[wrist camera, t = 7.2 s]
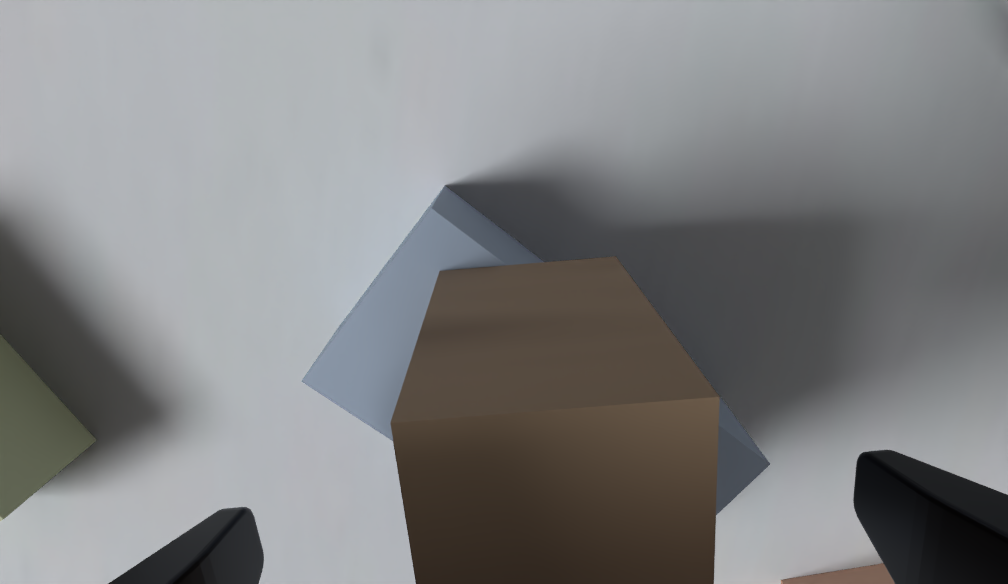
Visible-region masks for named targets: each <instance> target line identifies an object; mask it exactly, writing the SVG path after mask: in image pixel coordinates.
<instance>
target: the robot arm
mask: <svg viewBox="0 0 1008 584" xmlns="http://www.w3.org/2000/svg"><path fill="white" fill-rule="evenodd" d="M854 508H855V512H856V514H857V517H858V519H859V521H860V522H861V524H862V526H863V528H864V530H865V531H866V533H867V535H868V537H869V538H870V540H871V542H872V544H873V546H874V547H875V549H876V551H877V553H878V554H879V556H880V558H881V560H882V562H883V563H884V565H885V567H886V569H887V570H888V572H889V574H890V576H891V578H892V579H893V581H894V583H895V584H1008V495H1007V494H1004V493H1001V492H999V491H996V490H994V489H991V488H988V487H986V486H983V485H981V484H978V483H976V482H973V481H970V480H968V479H965V478H963V477H960V476H957V475H955V474H952V473H950V472H947V471H944V470H942V469H939V468H937V467H934V466H931V465H929V464H926V463H924V462H921V461H918V460H916V459H913V458H911V457H908V456H906V455H903V454H900V453H898V452H895V451H892V450H880V451H869V452H863V453H862V454H860V455H859V457H858V460H857V466H856V477H855V487H854ZM263 563H264V555H263V549H262V545H261V541H260V537H259V534H258V530H257V526H256V522H255V518H254V515H253V513H252V511H251V510H250V509H249V508H247V507H239V508H227V509H221V510H219V511H217V512H216V513H214V514H213V515H211V516H210V517H208V518H207V519H205V520H204V521H202V522H201V523H199V524H198V525H196V526H195V527H193V528H192V529H190V530H189V531H187V532H186V533H184V534H183V535H181V536H179V537H178V538H176V539H175V540H173V541H172V542H170V543H169V544H167V545H166V546H164V547H163V548H161V549H160V550H158V551H157V552H155V553H154V554H152V555H151V556H149V557H148V558H146V559H145V560H143V561H142V562H140V563H139V564H137V565H136V566H134V567H133V568H131V569H130V570H128V571H127V572H125V573H124V574H122V575H121V576H119V577H118V578H116V579H115V580H113V581H112V582H110V583H109V584H259V580H260V577H261V573H262V569H263Z"/></svg>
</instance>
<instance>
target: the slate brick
mask: <svg viewBox="0 0 1008 584" xmlns="http://www.w3.org/2000/svg"><path fill="white" fill-rule="evenodd" d="M541 262H544V261H542V260H541V259H540V258H538V257H537V256H536V255H535V254H533V253H532V252H531V251H529V250H528V249H527V248H525V247H524V246H523V245H522V244H520V243H519V242H518V241H516V240H515V239H514V238H512V237H511V236H510V235H509V234H507V233H506V232H505V231H503V230H502V229H501V228H499V227H498V226H497V225H496V224H494V223H493V222H492V221H490V220H489V219H488V218H487V217H485V216H484V215H483V214H481V213H480V212H479V211H477V210H476V209H475V208H474V207H472V206H471V205H470V204H468V203H467V202H466V201H464V200H463V199H462V198H461V197H459V196H458V195H457V194H455V193H454V192H453V191H451V190H450V189H449V188H448V187H446V186H444V187H443V189H442V190H441V191H440V193H439V194H438V195H437V197H436V198H435V199H434V201H433V202H432V203H431V205H430V206H429V207H428V209H427V210H426V211H425V213H424V214H423V215H422V217H421V218H420V219H419V221H418V222H417V223H416V225H415V226H414V227H413V229H412V230H411V231H410V233H409V234H408V235H407V237H406V238H405V239H404V241H403V242H402V243H401V245H400V246H399V247H398V249H397V250H396V251H395V253H394V254H393V255H392V257H391V258H390V259H389V261H388V262H387V263H386V265H385V266H384V267H383V269H382V270H381V271H380V273H379V274H378V275H377V277H376V278H375V279H374V281H373V282H372V283H371V285H370V286H369V287H368V289H367V290H366V291H365V293H364V294H363V295H362V297H361V298H360V299H359V301H358V302H357V303H356V305H355V306H354V307H353V309H352V310H351V311H350V313H349V314H348V315H347V317H346V318H345V319H344V321H343V322H342V323H341V325H340V326H339V327H338V329H337V330H336V332H335V333H334V335H333V336H332V338H331V339H330V340H329V342H328V343H327V345H326V346H325V348H324V349H323V351H322V352H321V353H320V355H319V356H318V358H317V359H316V361H315V362H314V364H313V365H312V367H311V368H310V369H309V371H308V372H307V374H306V375H305V377H304V378H303V380H302V382H303V383H305V384H306V385H308V386H309V387H311V388H312V389H314V390H315V391H317V392H318V393H320V394H321V395H323V396H325V397H326V398H328V399H329V400H331V401H332V402H334V403H335V404H337V405H338V406H340V407H341V408H343V409H345V410H346V411H348V412H349V413H351V414H352V415H354V416H355V417H357V418H358V419H360V420H361V421H363V422H364V423H366V424H368V425H369V426H371V427H372V428H374V429H375V430H377V431H378V432H380V433H381V434H383V435H384V436H386V437H388V438H389V439H391V440H392V441H393V436H392V430H391V424H390V422H391V419H392V416H393V413H394V410H395V407H396V404H397V401H398V398H399V395H400V391H401V388H402V385H403V382H404V379H405V376H406V373H407V370H408V367H409V364H410V361H411V358H412V354H413V351H414V348H415V345H416V342H417V339H418V336H419V333H420V330H421V327H422V324H423V320H424V317H425V314H426V311H427V308H428V305H429V302H430V299H431V296H432V293H433V290H434V287H435V283H436V280H437V277H438V274H439V271H445V270H457V269H469V268H481V267H493V266H505V265H517V264H529V263H541ZM769 465H770V463H769V462H768V460H767V459H766V458H765V456H764V455H763V454H762V452H761V451H760V450H759V448H758V447H757V446H756V444H755V443H754V442H753V440H752V439H751V437H750V436H749V435H748V433H747V432H746V431H745V429H744V428H743V427H742V425H741V424H740V423H739V421H738V420H737V419H736V417H735V416H734V415H733V413H732V412H731V410H730V409H729V408H728V406H727V405H726V404H725V402H724V401H723V400H722V398H720V400H719V431H718V462H717V493H716V515H717V514H718V513H719V512H720V511H721V510H722V509H723V508H724V507H725V506H726V505H727V504H729V503H730V502H731V501H732V500H733V499H734V498H735V497H736V496H737V495H738V494H739V493H740V492H741V491H742V490H743V489H744V488H745V487H747V486H748V485H749V484H750V483H751V482H752V481H753V480H754V479H755V478H756V477H757V476H758V475H759V474H760V473H761V472H762V471H763V470H765V469H766V468H767V467H768V466H769Z"/></svg>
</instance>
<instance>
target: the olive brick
mask: <svg viewBox="0 0 1008 584" xmlns="http://www.w3.org/2000/svg"><path fill="white" fill-rule="evenodd" d="M95 441H97V440H96V439H95V438H94V437H93V436H92V435H91V434H90V433H89V431H88V430H87V429H86V428H85V427H84V426H83V425H82V424H81V423H80V422H79V420H78V419H77V418H76V417H75V416H74V415H73V414H72V413H71V412H70V411H69V409H68V408H67V407H66V406H65V405H64V404H63V403H62V402H61V401H60V400H59V398H58V397H57V396H56V395H55V394H54V393H53V392H52V391H51V390H50V389H49V387H48V386H47V385H46V384H45V383H44V382H43V381H42V380H41V379H40V378H39V376H38V375H37V374H36V373H35V372H34V371H33V370H32V369H31V368H30V367H29V366H28V364H27V363H26V362H25V361H24V360H23V359H22V358H21V357H20V356H19V355H18V353H17V352H16V351H15V350H14V349H13V348H12V347H11V346H10V345H9V344H8V342H7V341H6V340H5V339H4V338H3V337H2V336H1V335H0V521H1V520H3V519H4V518H6V517H7V516H8V515H9V514H10V513H12V512H13V511H14V510H15V509H16V508H17V507H19V506H20V505H21V504H22V503H23V502H25V501H26V500H27V499H28V498H29V497H30V496H32V495H33V494H34V493H35V492H36V491H38V490H39V489H40V488H41V487H42V486H43V485H45V484H46V483H47V482H48V481H49V480H51V479H52V478H53V477H54V476H55V475H56V474H58V473H59V472H60V471H61V470H62V469H63V468H65V467H66V466H67V465H68V464H69V463H71V462H72V461H73V460H74V459H75V458H76V457H78V456H79V455H80V454H81V453H82V452H84V451H85V450H86V449H87V448H88V447H89V446H91V445H92V444H93V443H94V442H95Z"/></svg>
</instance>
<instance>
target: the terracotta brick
mask: <svg viewBox="0 0 1008 584" xmlns="http://www.w3.org/2000/svg"><path fill="white" fill-rule="evenodd" d="M781 584H895V583H894V581H893V579H892V578H891V576H890V574H889V572H888V570H887V569H886V567H885V565H884V563H883V564H877V565H871V566H865V567H859V568H852V569H846V570H840V571H834V572H827V573H821V574H815V575H809V576H803V577H796V578H790V579H784V580H781Z"/></svg>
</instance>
